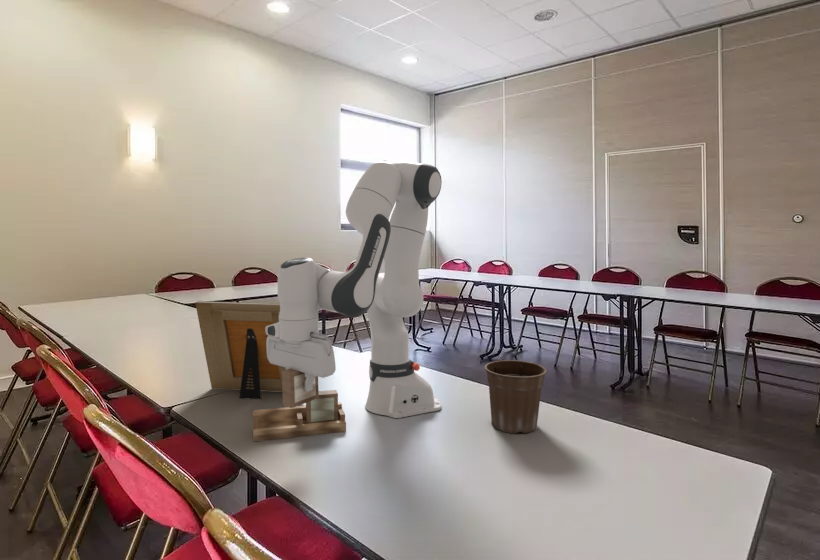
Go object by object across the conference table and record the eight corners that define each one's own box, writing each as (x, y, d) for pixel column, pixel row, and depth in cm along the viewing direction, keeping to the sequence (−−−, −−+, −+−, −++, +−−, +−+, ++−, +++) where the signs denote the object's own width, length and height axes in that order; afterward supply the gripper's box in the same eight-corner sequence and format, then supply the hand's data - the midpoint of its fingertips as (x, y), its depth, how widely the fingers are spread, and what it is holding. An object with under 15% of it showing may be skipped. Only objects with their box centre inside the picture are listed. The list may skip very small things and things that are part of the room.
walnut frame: (310, 395, 116) (309, 362, 115) (319, 398, 114) (318, 365, 113) (282, 405, 110) (281, 370, 109) (291, 408, 108) (290, 373, 107)
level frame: (336, 418, 130) (336, 389, 130) (337, 422, 127) (337, 393, 127) (305, 421, 128) (305, 392, 127) (307, 426, 125) (306, 396, 124)
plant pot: (473, 428, 129) (475, 369, 127) (495, 410, 143) (497, 356, 141) (533, 443, 121) (536, 380, 119) (550, 421, 134) (553, 365, 133)
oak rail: (340, 419, 133) (341, 402, 133) (346, 431, 126) (346, 412, 125) (253, 428, 126) (253, 410, 126) (253, 441, 119) (253, 421, 118)
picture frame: (310, 392, 155) (309, 300, 152) (300, 403, 146) (299, 305, 143) (213, 387, 159) (211, 297, 156) (197, 398, 149) (194, 301, 146)
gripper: (341, 333, 106) (342, 393, 108) (282, 322, 118) (284, 376, 120) (319, 338, 101) (321, 402, 103) (260, 326, 113) (263, 383, 115)
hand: (301, 388), depth 111 cm, fingers closed on walnut frame, 3 cm apart
